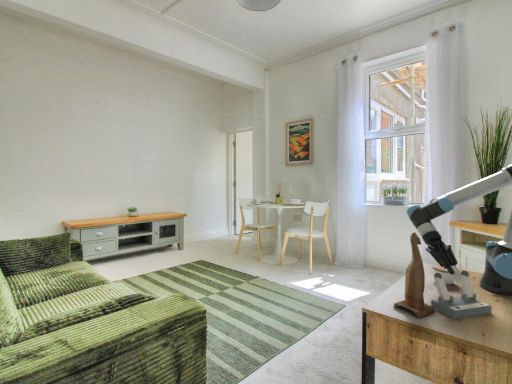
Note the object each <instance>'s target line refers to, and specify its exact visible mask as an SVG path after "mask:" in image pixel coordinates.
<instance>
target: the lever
mask: <svg viewBox="0 0 512 384" xmlns="http://www.w3.org/2000/svg"><path fill="white" fill-rule="evenodd" d="M433 280H434V282H435V285H436V289H437V292H438V296H441V297H443V298H444V303H445V302H451V299H450V297H449V295H450V294H449V291H448V288H447V285H446V284H445V282H444V279H443V277H442V275H441V274H440V273H435V274H434V275H433Z"/></svg>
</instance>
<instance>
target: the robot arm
mask: <svg viewBox="0 0 512 384" xmlns="http://www.w3.org/2000/svg"><path fill="white" fill-rule="evenodd" d="M509 186H512V163H511V164H509V165H506V166H505V167H504V166H503V167H502V168H501V170H500V171H498V172H496V173H494V174H490V175H488V176H486V177H483V178H481V179H479V180H475V181H473V182H471V183H469V184H467V185H464V186H462V187H459V188H458V189H455V190H452V191H449V192H447V193H446V194H445V193H444V194H443V195H440V196H437V197H433V198H432V199H430V201H428V202H429V203H427V204H426V205H423V206H421V205H420V204H415V205H412V206H410V207H408V209H406V214H407V216H408V218H409V220H410V221H411V223H412V225H413V226H414V228H415V229H416V231H417V232H418V234H419V236H420V237H421V239H422V241H423V242H424V243H425V245H426V246H427V247H425V248H424V249H425V251H426V252H427V253H429V254H430V256H431V257H432V258H433V259H434V261H435V262H437V265H440V266H441V267H444V269H446V268H447V270H448V271H449V273H450V274H451V275H452V276H453V278H454V280H455V283H462V282H461V276H460V275H461V272H460V271H459V269H458V268H457V264H459V263H458V261H457V258H456V256H455V253H454V252H453V250H452V246H451V244H446V243H445V242H444V241H443V240H442V237H443V236H442V235H441V234H440V232H439V230H438V231H437V228H436V226H435V224H434V223H433V222H432V221H433V220H435V219H436V218H438V217H441V216H443V215H445V214H447V213H450V212H452V211H453V210H455V209H456V208H455V207H457V206H460V205H462V204H465V203H467V202H470V201H473V200H476V199H478V198H481V197H483V196H485V195H488V194H490V193H493V192H497V191H499V190H501V189H505V188H506V187H509ZM479 287H481V288H482V289H484V290H486V291H489V292H492V293H497V294H500V295H507V296H512V210H511V211H510V214H509V218H508V221H507V224H506V227H505V230H504V234H503V237H502V239H501V240H499V241H495V240H494V241H493V240H489V241H487V242H486V245H485V262H484V271H483V274H482V275H481V278H480V279H479Z"/></svg>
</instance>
